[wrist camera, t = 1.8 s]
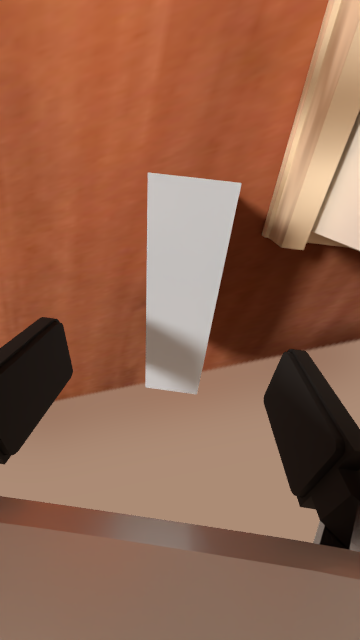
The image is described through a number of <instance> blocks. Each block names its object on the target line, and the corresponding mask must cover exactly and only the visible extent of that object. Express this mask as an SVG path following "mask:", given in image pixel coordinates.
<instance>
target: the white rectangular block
mask: <svg viewBox="0 0 360 640" xmlns="http://www.w3.org/2000/svg"><path fill="white" fill-rule="evenodd" d="M240 188H241V183H236V182H228V181H219V180H210V179H201V178H192V177H183V176H174V175H165V174H156V173H148V211H147V301H146V387H147V388H155V389H162V390H170V391H177V392H184V393H191V394H197V391H198V386H199V382H200V377H201V372H202V367H203V363H204V358H205V353H206V349H207V344H208V339H209V334H210V330H211V325H212V320H213V316H214V311H215V306H216V301H217V297H218V292H219V287H220V282H221V278H222V273H223V268H224V264H225V259H226V254H227V249H228V245H229V240H230V235H231V230H232V226H233V221H234V216H235V212H236V207H237V202H238V197H239V193H240Z"/></svg>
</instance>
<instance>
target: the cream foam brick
mask: <svg viewBox="0 0 360 640" xmlns="http://www.w3.org/2000/svg"><path fill="white" fill-rule="evenodd" d="M311 231H312V232H314V233H317V234H319V235H322V236H324V237H327V238H329V239H332V240H334V241H337V242H339V243H342V244H344V245H347V246H349V247H352V248H354V249H357V250H359V251H360V110H359V113H358V115H357V118H356V120H355V123H354V125H353V128H352V130H351V133H350V135H349V138H348V140H347V143H346V145H345V148H344V150H343V153H342V155H341V158H340V160H339V163H338V165H337V168H336V170H335V173H334V175H333V178H332V180H331V183H330V185H329V188H328V190H327V193H326V195H325V198H324V200H323V203H322V205H321V207H320V210H319V212H318V215H317V217H316V220H315V222H314V225H313V227H312V230H311Z"/></svg>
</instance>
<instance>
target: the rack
mask: <svg viewBox="0 0 360 640" xmlns="http://www.w3.org/2000/svg"><path fill="white" fill-rule="evenodd" d="M359 110H360V0H329V2H328V5H327V8H326V12H325V15H324V19H323V22H322V26H321V29H320V33H319V36H318V40H317V43H316V47H315V50H314V54H313V57H312V61H311V64H310V68H309V71H308V75H307V78H306V82H305V85H304V89H303V92H302V96H301V99H300V103H299V106H298V110H297V113H296V117H295V120H294V124H293V127H292V131H291V134H290V138H289V141H288V145H287V148H286V152H285V155H284V159H283V162H282V166H281V169H280V173H279V176H278V180H277V183H276V187H275V190H274V194H273V197H272V201H271V204H270V207H269V211H268V214H267V218H266V221H265V225H264V228H263V232H262V236H263V237H265V238H269V239H271V240H272V241H273V242H275V243H276V244H277V245H279V246H280V247H281V248H290V249H298V250H304V247H305V245H306V243H315V244H323V245H332V246H340V247H349V246H347V245H344V244H342V243H339V242H337V241H334V240H332V239H329V238H327V237H324V236H322V235H319V234H317V233H314V232H312V231H311V230H312V227H313V225H314V222H315V220H316V217H317V215H318V212H319V210H320V207H321V205H322V203H323V200H324V198H325V195H326V193H327V190H328V188H329V185H330V183H331V180H332V178H333V175H334V173H335V170H336V168H337V165H338V163H339V160H340V158H341V155H342V153H343V150H344V148H345V145H346V143H347V140H348V138H349V135H350V133H351V130H352V128H353V125H354V123H355V120H356V118H357V115H358V113H359ZM349 248H351V249H354V248H352V247H349ZM354 250H356V251H359V250H357V249H354ZM359 252H360V251H359Z"/></svg>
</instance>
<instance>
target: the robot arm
mask: <svg viewBox="0 0 360 640" xmlns="http://www.w3.org/2000/svg"><path fill="white" fill-rule="evenodd" d="M72 373H73V369H72V364H71V359H70V355H69V350H68V346H67V341H66V337H65V332H64V328H63V324H62V323H60V322H59V320H57V319H53V318H45V317H42V318H40V319H38V320H37V321H36V322H34V323H33V324H32V325H30V326H29V327H28V328H26V329H25V330H24V331H22V332H21V333H20V334H18V335H17V336H16V337H15V338H13V339H12V340H11V341H9V342H8V343H7V344H5V345H4V346H3V347H1V348H0V464H5V463H6V462H7V460H8V459H9V458H10V456H11V455H14V454H16V452H18V451H19V449H20V448H21V446H22V445H23V444H24V442H25V441H26V439H27V438H28V437H29V435H30V434H31V432H32V431H33V429H34V428H35V427H36V426H37V424H38V423H39V421H40V420H41V419H42V417H43V416H44V414H45V413H46V412H47V410H48V409H49V407H50V406H51V405H52V403H53V402H54V400H55V399H56V398H57V396H58V395H59V393H60V392H61V391H62V389H63V388H64V386H65V385H66V384H67V382H68V381H69V379H70V378H71V376H72ZM264 405H265V408H266V411H267V414H268V418H269V421H270V424H271V428H272V431H273V434H274V437H275V440H276V444H277V447H278V450H279V453H280V456H281V460H282V463H283V466H284V470H285V473H286V476H287V479H288V483H289V486H290V489H291V491H292V493H293V494H294V495H295V496H297V499H298V502H299V505H300V507H304V508H311V509H316V510H317V513H318V516H319V518H320V522H319V526H318V529H317V532H316V536H315V539H314V543H308V542H302V541H297V540H291V539H285V538H279V537H272V536H266V535H258V534H253V533H246V532H239V531H233V530H227V529H220V528H213V527H207V526H200V525H194V524H187V523H181V522H174V521H167V520H160V519H154V518H146V517H140V516H133V515H126V514H120V513H113V512H106V511H99V510H93V509H86V508H79V507H72V506H65V505H58V504H51V503H44V502H37V501H30V500H23V499H16V498H8V497H2V496H0V640H360V429H359V427H358V426H357V424H356V423H355V422H354V420H353V419H352V417H351V416H350V414H349V413H348V411H347V410H346V409H345V407H344V406H343V404H342V403H341V401H340V400H339V398H338V397H337V395H336V394H335V392H334V391H333V389H332V388H331V387H330V385H329V384H328V382H327V381H326V379H325V378H324V376H323V375H322V373H321V372H320V371H319V369H318V368H317V366H316V365H315V364H314V362H313V360H312V359H311V357H310V356H309V354H308V353H307V352H306V351H302V350H294V349H289V350H288V351H287V352H284V353H283V355H282V357H281V359H280V362H279V364H278V366H277V368H276V370H275V373H274V375H273V377H272V379H271V382H270V384H269V386H268V388H267V391H266V393H265V395H264Z"/></svg>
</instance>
